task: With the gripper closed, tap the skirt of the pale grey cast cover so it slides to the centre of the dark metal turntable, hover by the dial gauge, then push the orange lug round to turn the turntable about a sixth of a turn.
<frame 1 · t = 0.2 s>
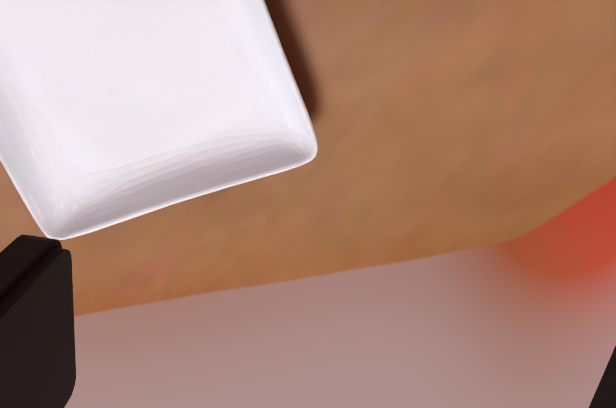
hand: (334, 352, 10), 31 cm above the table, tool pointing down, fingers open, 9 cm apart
salad plate: (128, 49, 39), on the table
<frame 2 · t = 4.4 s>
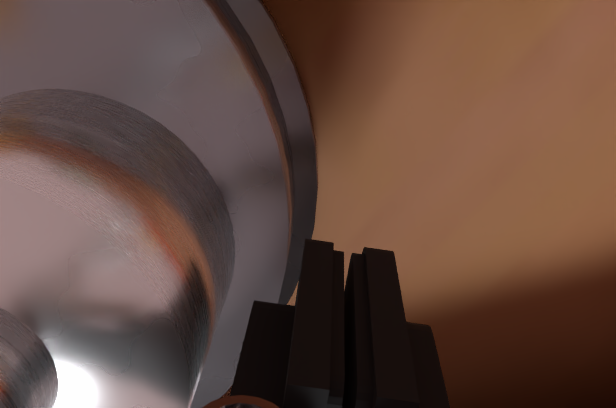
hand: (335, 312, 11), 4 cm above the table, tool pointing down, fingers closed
cover: (82, 241, 12), point 3 cm above the table, touching gripper
turntable base: (14, 174, 14), on the table
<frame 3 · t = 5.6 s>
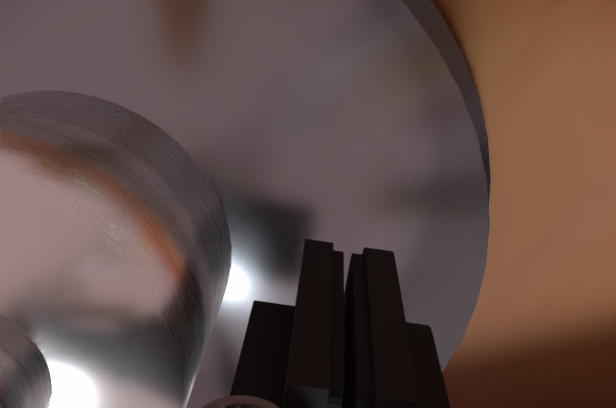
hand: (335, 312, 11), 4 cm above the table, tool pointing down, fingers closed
cover: (78, 243, 12), point 2 cm above the table, touching gripper, turntable
turntable: (124, 197, 10), point 4 cm above the table, hinge at -0.7°, touching cover
turntable base: (175, 202, 14), on the table
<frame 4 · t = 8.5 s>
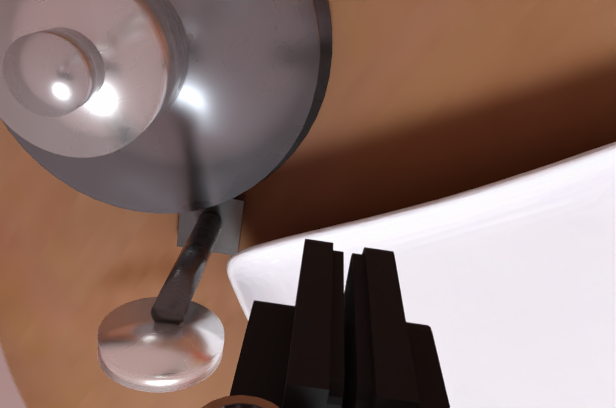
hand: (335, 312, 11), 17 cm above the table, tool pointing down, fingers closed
salad plate: (481, 339, 31), on the table
cover: (109, 49, 23), point 2 cm above the table, touching turntable
turntable: (136, 11, 21), point 4 cm above the table, hinge at -0.7°, touching cover
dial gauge: (212, 218, 29), on the table
turntable base: (161, 44, 25), on the table
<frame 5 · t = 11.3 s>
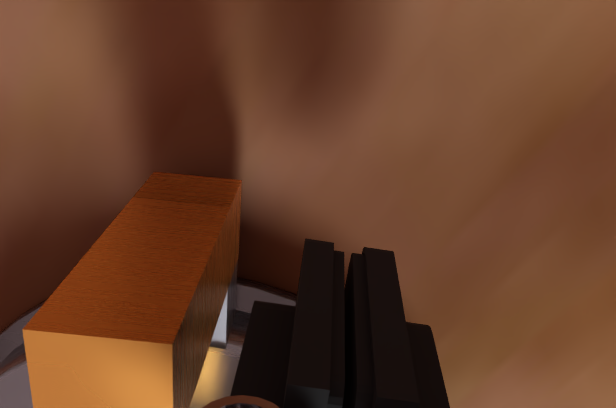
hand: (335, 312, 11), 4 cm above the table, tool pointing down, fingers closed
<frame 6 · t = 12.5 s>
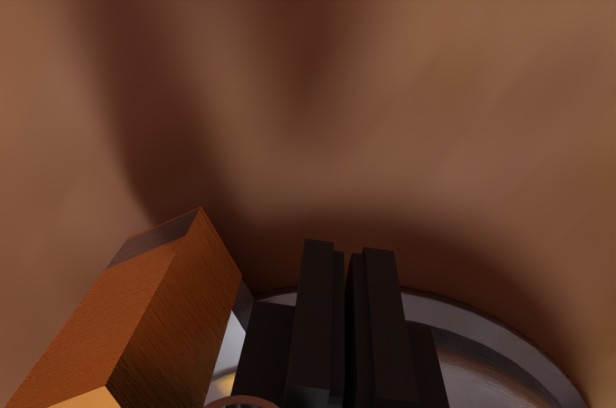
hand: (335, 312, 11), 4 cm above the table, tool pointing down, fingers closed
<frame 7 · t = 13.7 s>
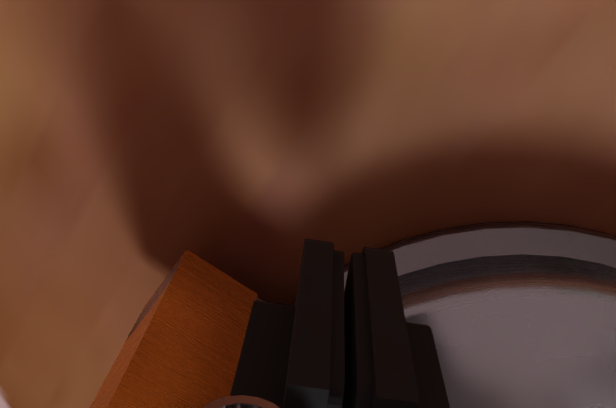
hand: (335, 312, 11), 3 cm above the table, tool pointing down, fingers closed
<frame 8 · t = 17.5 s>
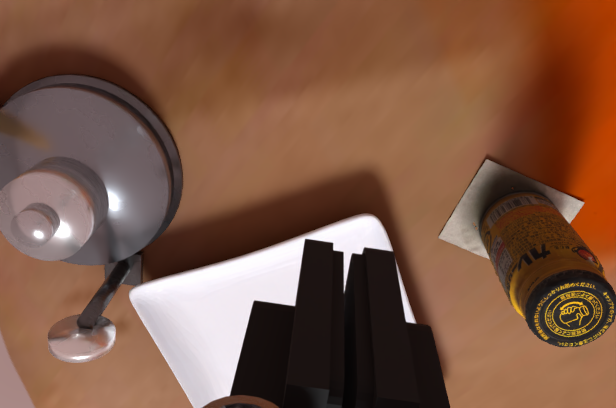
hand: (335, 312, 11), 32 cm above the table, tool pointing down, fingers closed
salad plate: (297, 333, 51), on the table
cover: (66, 197, 43), point 2 cm above the table, touching turntable
turntable: (44, 175, 41), point 4 cm above the table, hinge at 61.7°, touching cover
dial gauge: (125, 264, 48), on the table
condiment: (508, 218, 45), on the table
turntable base: (87, 170, 45), on the table
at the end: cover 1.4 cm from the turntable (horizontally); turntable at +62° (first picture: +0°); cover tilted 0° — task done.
